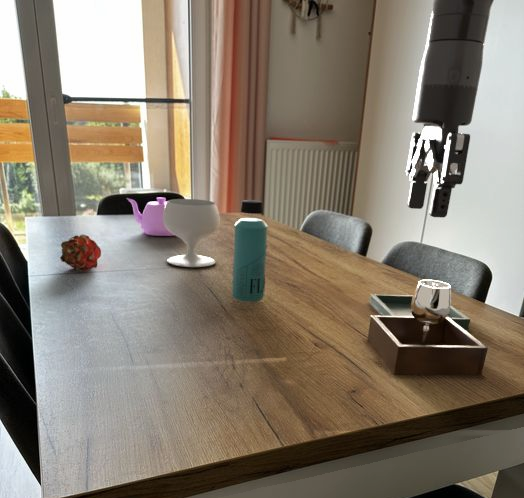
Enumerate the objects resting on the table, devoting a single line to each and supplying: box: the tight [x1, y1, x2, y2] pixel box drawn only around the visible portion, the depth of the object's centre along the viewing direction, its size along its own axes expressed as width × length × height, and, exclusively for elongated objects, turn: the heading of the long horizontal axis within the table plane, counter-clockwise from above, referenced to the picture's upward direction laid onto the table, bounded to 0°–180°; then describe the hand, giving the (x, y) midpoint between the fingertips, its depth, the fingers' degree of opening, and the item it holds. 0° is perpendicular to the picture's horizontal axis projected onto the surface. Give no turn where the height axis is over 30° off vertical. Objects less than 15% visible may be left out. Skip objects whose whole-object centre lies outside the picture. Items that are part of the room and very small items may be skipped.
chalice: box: [163, 198, 221, 268], centre depth 128 cm, size 14×14×15 cm
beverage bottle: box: [231, 199, 269, 303], centre depth 98 cm, size 6×7×20 cm
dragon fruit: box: [59, 234, 102, 272], centre depth 118 cm, size 8×8×12 cm
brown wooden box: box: [367, 314, 489, 376], centre depth 81 cm, size 14×14×4 cm
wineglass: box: [411, 279, 452, 345], centre depth 80 cm, size 6×6×12 cm
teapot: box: [125, 197, 175, 237], centre depth 162 cm, size 13×20×11 cm, turn 100°
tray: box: [369, 293, 471, 331], centre depth 101 cm, size 15×15×2 cm
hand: (425, 212), depth 73 cm, fingers open, 8 cm apart
